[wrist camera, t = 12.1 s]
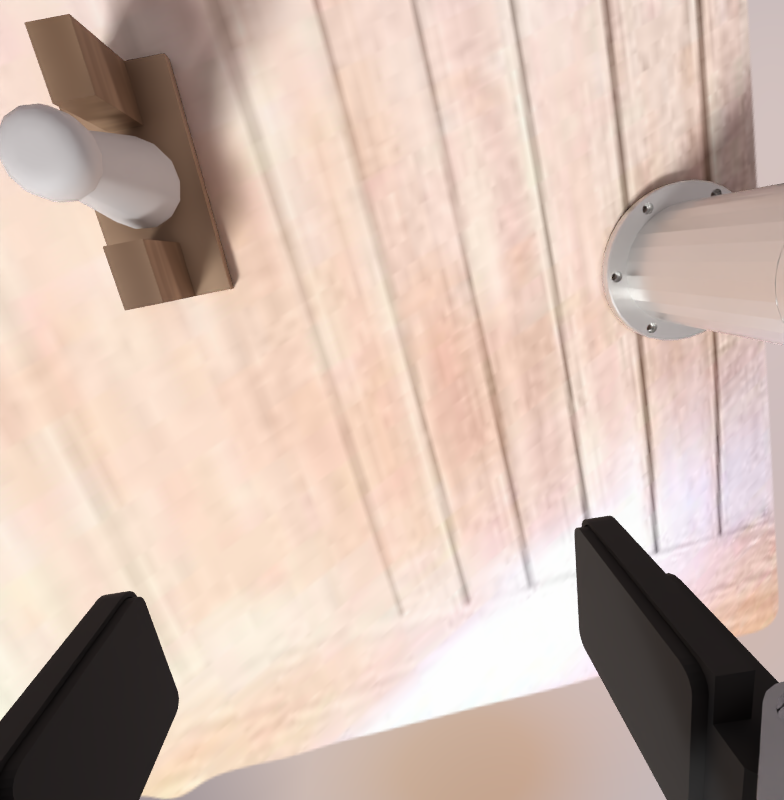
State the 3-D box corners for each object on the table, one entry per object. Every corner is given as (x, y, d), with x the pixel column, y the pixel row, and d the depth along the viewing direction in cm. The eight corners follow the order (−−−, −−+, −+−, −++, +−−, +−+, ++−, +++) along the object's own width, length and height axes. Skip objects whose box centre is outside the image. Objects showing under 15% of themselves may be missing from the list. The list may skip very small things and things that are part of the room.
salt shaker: (181, 141, 34) (81, 73, 22) (198, 226, 36) (114, 208, 23) (98, 149, 34) (-51, 85, 22) (119, 234, 36) (-8, 220, 23)
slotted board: (169, 59, 34) (118, 4, 27) (233, 288, 38) (204, 294, 31) (57, 81, 34) (-25, 32, 26) (134, 307, 38) (83, 318, 31)
